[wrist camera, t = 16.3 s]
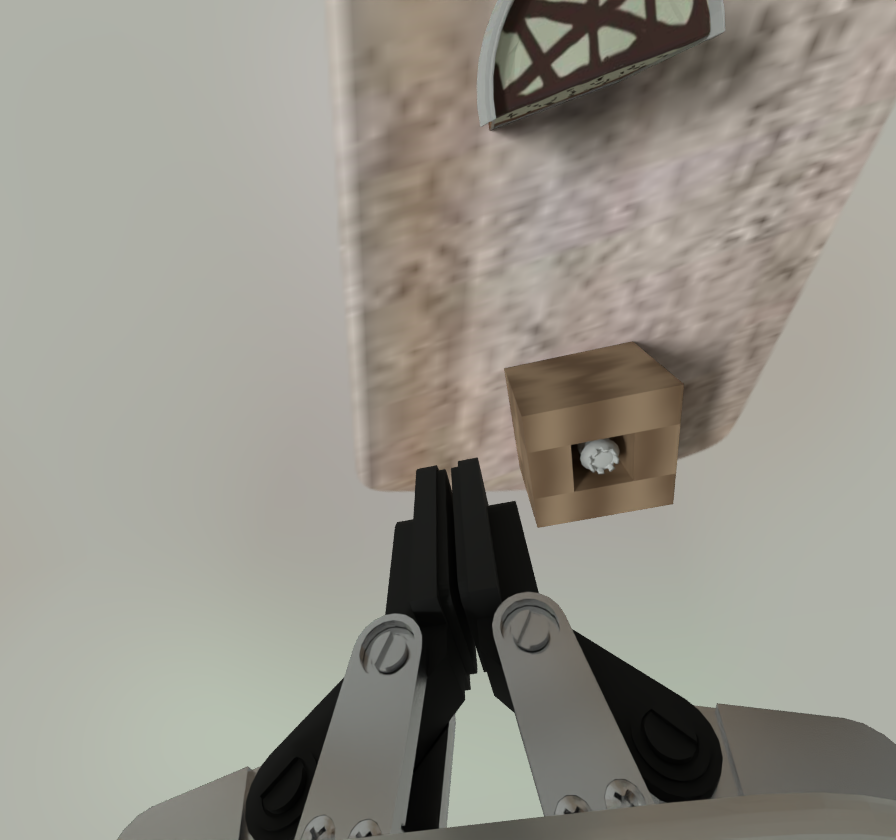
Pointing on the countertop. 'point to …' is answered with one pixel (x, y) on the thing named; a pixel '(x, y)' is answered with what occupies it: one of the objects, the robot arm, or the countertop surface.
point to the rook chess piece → (599, 455)
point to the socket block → (595, 431)
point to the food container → (579, 48)
